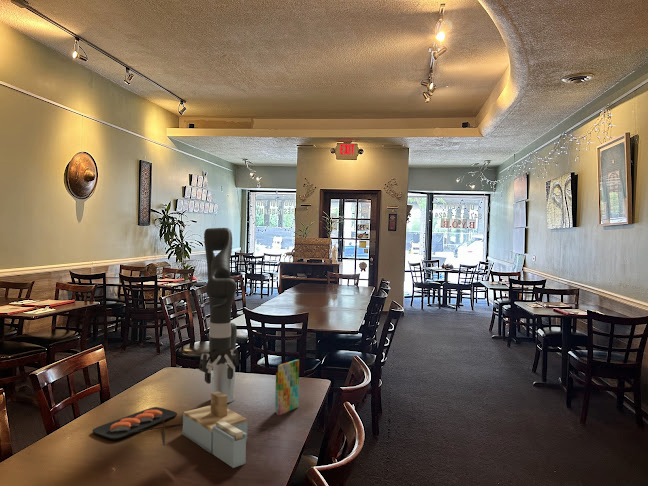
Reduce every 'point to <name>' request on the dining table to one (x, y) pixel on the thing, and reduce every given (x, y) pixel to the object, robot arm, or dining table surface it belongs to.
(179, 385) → the dining table surface
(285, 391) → the puzzle game
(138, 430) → the sushi plate
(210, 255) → the robot arm
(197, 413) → the lid
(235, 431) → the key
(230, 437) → the toolbox
